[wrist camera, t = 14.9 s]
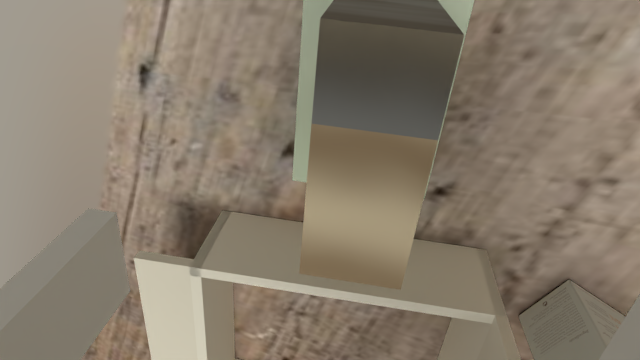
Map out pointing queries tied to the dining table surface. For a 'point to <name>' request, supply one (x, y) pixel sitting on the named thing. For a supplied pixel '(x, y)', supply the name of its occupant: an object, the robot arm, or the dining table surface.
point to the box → (374, 134)
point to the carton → (310, 290)
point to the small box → (569, 325)
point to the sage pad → (314, 5)
